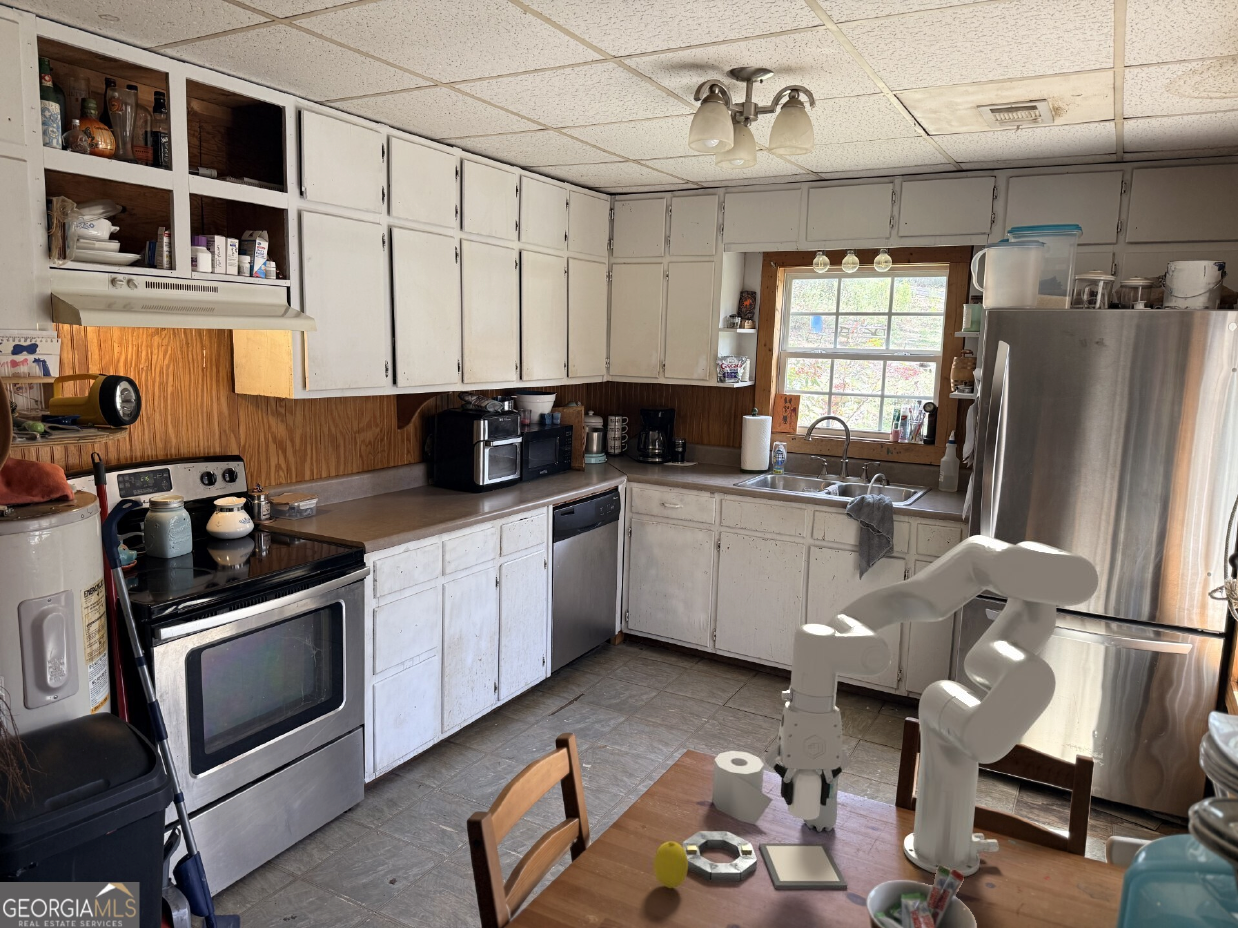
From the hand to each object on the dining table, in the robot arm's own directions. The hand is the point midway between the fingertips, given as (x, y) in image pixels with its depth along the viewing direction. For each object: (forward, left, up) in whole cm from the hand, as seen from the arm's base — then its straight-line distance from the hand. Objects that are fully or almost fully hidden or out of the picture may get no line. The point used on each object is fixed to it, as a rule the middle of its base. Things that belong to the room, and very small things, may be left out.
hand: (804, 800), depth 140 cm
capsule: (0, 0, -2) cm, 2 cm away
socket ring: (+14, -2, -12) cm, 18 cm away
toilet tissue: (+6, -19, -12) cm, 24 cm away
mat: (0, 0, -12) cm, 12 cm away
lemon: (+23, +6, -12) cm, 27 cm away
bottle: (-7, -13, -12) cm, 19 cm away
